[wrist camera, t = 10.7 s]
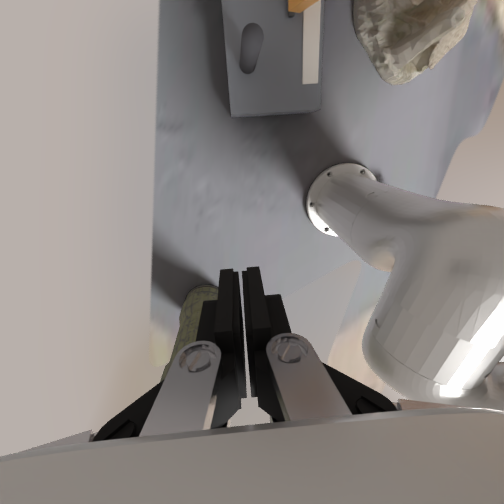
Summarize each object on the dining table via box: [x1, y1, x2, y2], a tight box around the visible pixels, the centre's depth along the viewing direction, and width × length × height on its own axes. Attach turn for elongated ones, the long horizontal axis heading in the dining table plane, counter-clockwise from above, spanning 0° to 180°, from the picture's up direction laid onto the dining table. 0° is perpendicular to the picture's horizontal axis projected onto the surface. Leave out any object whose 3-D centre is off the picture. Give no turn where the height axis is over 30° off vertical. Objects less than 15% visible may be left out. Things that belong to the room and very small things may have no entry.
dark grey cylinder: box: [240, 23, 264, 74], centre depth 28 cm, size 2×2×10 cm
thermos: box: [160, 285, 218, 382], centre depth 37 cm, size 9×12×35 cm
